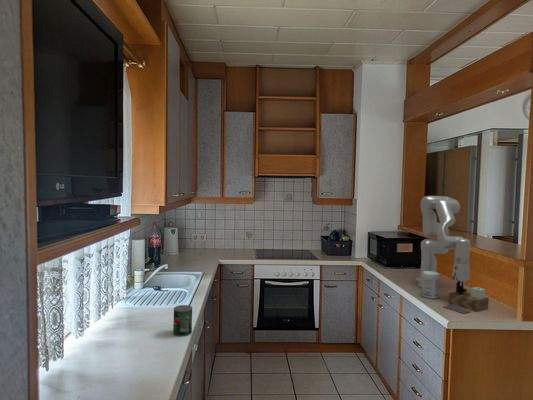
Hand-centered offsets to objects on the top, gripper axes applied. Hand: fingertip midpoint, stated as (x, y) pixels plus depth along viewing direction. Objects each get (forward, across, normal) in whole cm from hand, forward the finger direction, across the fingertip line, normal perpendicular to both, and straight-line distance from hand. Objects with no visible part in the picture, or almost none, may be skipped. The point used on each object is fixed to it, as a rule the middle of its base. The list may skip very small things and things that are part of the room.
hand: (459, 292), depth 226 cm
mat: (+7, -10, -5) cm, 13 cm away
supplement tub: (+7, -2, +17) cm, 19 cm away
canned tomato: (+7, -153, +32) cm, 156 cm away
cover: (+1, +3, -9) cm, 9 cm away
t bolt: (+1, +5, 0) cm, 5 cm away
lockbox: (+7, +3, -4) cm, 9 cm away
